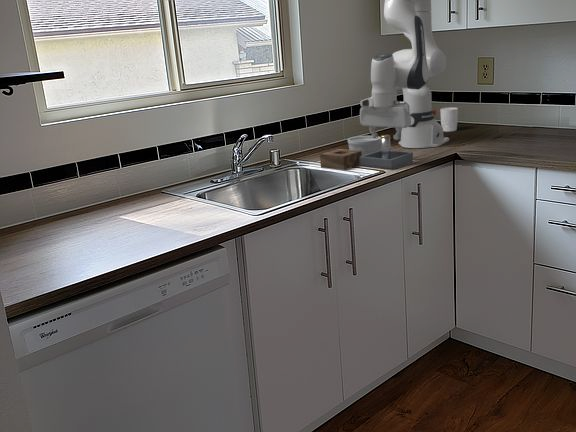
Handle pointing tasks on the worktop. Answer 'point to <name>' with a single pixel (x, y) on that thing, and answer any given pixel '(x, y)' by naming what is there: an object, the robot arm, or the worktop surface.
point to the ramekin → (364, 144)
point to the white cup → (449, 119)
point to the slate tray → (386, 160)
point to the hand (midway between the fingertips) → (385, 138)
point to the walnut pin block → (340, 159)
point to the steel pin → (385, 147)
